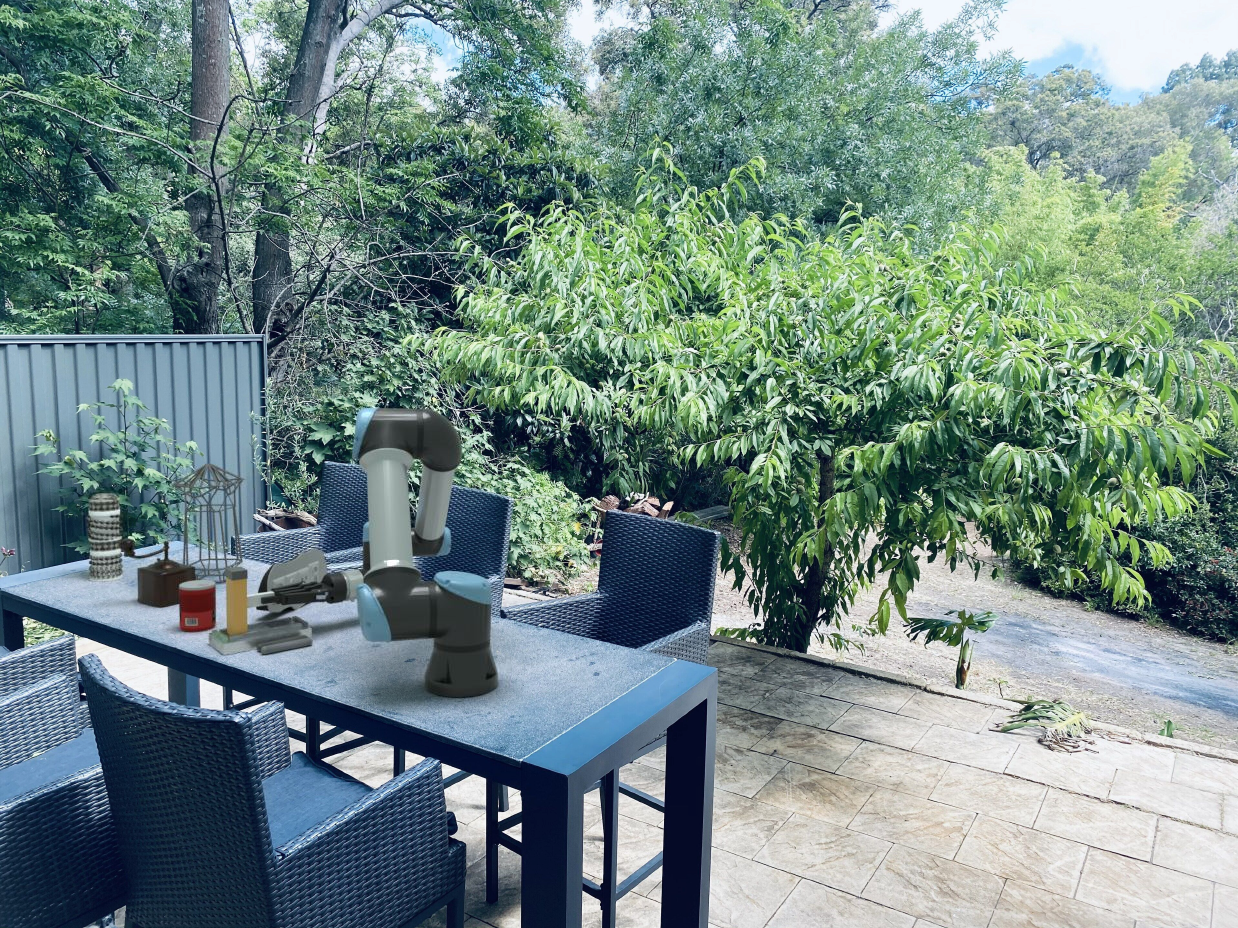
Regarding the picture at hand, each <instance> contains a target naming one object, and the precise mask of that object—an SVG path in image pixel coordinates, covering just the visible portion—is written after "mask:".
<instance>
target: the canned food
mask: <svg viewBox="0 0 1238 928" xmlns="http://www.w3.org/2000/svg"><path fill="white" fill-rule="evenodd" d="M216 586H217V584H216V583H215V582H214V580H208V579H200V580H195V581H188V582H184V583H182V584H180V585H179V604H178V605H179V606H178V610H179V612H178V613H179V616H178V617H179V629H180V630H181V631H183V632H186V633H198V632H205V631H209V630H211V629H213V628H215V627H216V625H217V590H216V588H217V587H216Z"/></svg>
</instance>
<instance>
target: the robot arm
mask: <svg viewBox="0 0 1238 928" xmlns="http://www.w3.org/2000/svg"><path fill="white" fill-rule="evenodd" d="M354 427H355V429H354V437H353V443H352V452H351V453H352V454H351V455H352V459H354V460H356V461H359V462H358V463H359V467H360V468H361V469H362V471H363V472H365V473H366V479H367V481H366V482H367V483H366V484H367V509H368V511H367V512H368V521H366V522H365V523H364V524H363V528H362V529H363V532H362V568H358V569H351V570H350V569H349V570H344V571H341V572H339V571H338V572H332V573H331V572H330V573H327V574H326V575H324V577H323V579H322V581H321V582H320V583H317V581H313V582H310V583H306V584H305V581H301V582H298V583H295V584H290V585H286V586H281V587H277V588H272V589H271V592H264V593H258V592H257V593H252V594H247V609H251V608H256V607H258V606H264V605H270V604H273V605H274V604H275V602H276V604H281V605H292V604H302V603H305V604H311V603H325V602H326V603H327V604H329V605H333V604H338V603H343V602H349V601H350V602H351V603H354V602H355V600H356V604H357V605H356V607H357V609H356V610H357V616H358V621H359V626H360V631H361V634H362V636H363V638H364V639H365V640H366V641H368V642H370V643H388V644H389V643H392V642H400V641H402V642H404V641H413V640H427V639H433V649H432V653H431V656H430V659H429V661H428V663H427V667H426V669H425V672H424V678H423V679H424V688H425V689H426V690H427V691H428V692H430V693H432V694H434V695H438V696H442V697H450V698H468V697H473V696H480V695H483V694H486V693H489V692H491V691H493V690H494V689H495V688H496V687H497V686H498V684H499V672H498V668H497V666H496V661H495V659H494V656H493V652H492V648H491V636H492V635H491V633H492V631H491V629H492V625H491V624H492V604H493V599H492V597H493V596H492V585H491V583H490V581H489V580H488V579H486V578H485V577H483V576H481V575H477V574H474V573H470V572H464V571H456V570H455V571H454V570H453V571H452V570H447V571H439V572H437V573H435V575H434V577H433V580H429V581H428V580H427V581H426V580H423V577H422V572H421V570H420V569H418V568H417V567H416V566H414V557H416V558H417V557H418V558H419V557H440V556H447V555H448V554H449V553H450V551H451V548H452V547H451V546H452V535H451V530H450V529H449V527H447V526H446V522H447V518H448V513H449V512H448V511H449V505H450V499H451V495H452V488H453V481H454V477H455V470H457V469H458V468H459V467H460V465H461V462H462V455H463V446H462V441H461V438H460V434H459V433H458V431H457V429H456V428H455V427H454V425H453V424H452V422H451V421H450V420H449V419H448V418H447V417H446V416H444V415H443V414H441V413H440V412H437V411H436V410H433V409H429V408H382V407H380V406H376V407H364V408H361V409H360V410H358V412H357V415H356V420H355V426H354ZM415 460H419V461H420V463H421V465H422V470H421V471H422V472H421V478H420V487H419V493H418V502H417V509H416V517H415V523H414V527H412V525H411V513H410V512H411V510H410V507H411V506H410V497H409V496H410V494H409V480H408V479H409V478H408V471H409V470H410V469H411V468H412V467H413V465H414V461H415Z"/></svg>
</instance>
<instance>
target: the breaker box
mask: <svg viewBox="0 0 1238 928" xmlns="http://www.w3.org/2000/svg"><path fill="white" fill-rule="evenodd" d="M312 632H313V630H312V627H311V626H309V622H308V621H306V620H304V619H302V618H301V617H299V616H298V615H294V616H293V615H292V616H287V617H282V618H276V619H275V618H274V619H271V620H265V621H257V622H253V623H247V632H246V633H241V634H235V635H229V634H228V633H227V627H224V628H219V629H218V630H217V629H213V630H211V632H209V633H208V644H209V645H210V646H211V647H212V648H214V649H215V650H216V651H218V652H219V653H221V654H222V656H228V655H227V654H229V655H233V654H237V653H238V652H239V653H244V652H248V650H249V651H252V650H253V651H254V650H257V645H258V644H260V643H265V642H271V641H276V640H281V639H286V638H291V637H297V636H302V635H306V636H308V638H311V639H313V638H312V637H313V635H312V634H313V633H312ZM243 651H244V652H243ZM239 653H238V654H239Z"/></svg>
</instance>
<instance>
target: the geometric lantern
mask: <svg viewBox="0 0 1238 928" xmlns="http://www.w3.org/2000/svg"><path fill="white" fill-rule="evenodd" d="M208 470H209V472H210V475H211V477H212V479H211V478H205V477H206V474H207V471H208ZM223 473H225V474H227V475H230V477H231V476H232V477H234V478H228V476H226V475H224V474H223ZM189 477H190V478H189ZM185 480H186V481H185ZM198 480H200V481H201V482H200V483H199V486H194V485H195V484H196V483H197V482H198ZM233 481H234V482H233ZM243 481H245V478H243V477H240V476H238V475H237V474H234V473H232V472H230V471H227V470H225V469H224V468H222V467H219V466H218V465H215V464H213V463H205V464H204V465H201V466H200V467H199V468H197V469H196V470H194V471H192V472H191V473H189V474H187V475H186V476H184V477H182V478H181V479H179V480H177V481H176V482H174V483H172V484H171V486H172V487H174V488H175V489H176V490H179V491H180V492H181V493H183V494H184V523H183V549H182V550H183V556H182V564H185V565H189V566H194V565H196V564H197V563H201V566H202V567H203V568H197V567H195V571H199V572H197V573H195V578H196V580H202V579H203V578H205V577H218V579H219V581H218V580H217V581H216V580H215V581H214V580H213V581H214V582H215V584H216V583H219V584H221V583H226V579H225V577H226V575H225V568H232V567H239V565H241V563H243V553H242V546H241V541H240V533H239V526H238V519H237V512H236V507H237V505H236V504H237V503H236V502H237V500H236V491H237V489H238V488H239V487H240V486H241V485H242V483H243ZM183 482H184V483H183ZM210 482H214V484H215V485H214V484H212V483H210ZM204 483H205V484H207V485H208V486H203V484H204ZM221 483H222V484H221ZM220 487H222V488H220ZM231 487H232V488H233V487H234V489H232V491H231ZM182 488H183V489H182ZM186 488H188V489H189V491H186ZM193 489H195V490H196V489H198V492H199V495H195V494H194V492H193ZM204 489H208V490H206V491H205V492H203V493H202V492H201V490H204ZM214 490H215V491H214ZM212 491H214V492H213V494H212V496H210V498H209V500H207V499H206V497H205V496H206V495H207V494H209V493H210V492H212ZM218 491H222V492H223V491H224V492H225V493H226V494H225V495H226V496H225V498H224V500H223V502H222V504H215V503H214V504H212V503H211V502H212V500H213V498H214V497H215V496H216V493H217V492H218ZM228 491H229V492H228ZM231 495H233V501H232V498H231V497H230V496H231ZM187 496H188V497H190V499H189V502H188V504H187ZM198 498H202V499H203V501H204V502H205V503H206V504H202V503H201V501H200V500H199V499H198ZM227 498H229V501H230V503H231V504H224V503H225V502H226V500H227ZM193 499H195V500H196V501H197V502H198V503H199V504H198V505H195V506H193V507H189V506H190V504H191V502H192V500H193ZM214 506H215V507H216V506H217V507H218V506H220V507H219V509H218V510H215V508H213V507H214ZM223 506H224V507H225V506H226V507H227V506H228V507H227V508H224V509H222V508H223ZM229 506H230V507H229ZM198 507H199V510H192V509H195V508H198ZM203 507H206V510H202V509H203ZM209 508H210V510H209ZM230 509H232V513H233V514H232V515H233V528H234V539H235V540H234V541H235V553H236V555H235V556H236V558H227V552H226V544H225V543H226V542H225V536H224V535H225V534H224V525H223V519H222V518H223V516H222V512H224V511H227V510H230ZM188 512H189V513H193V512H194V513H199V553H198V554H199V559H198V560H196V561H193V562H191V563H189V544H188V543H189V541H188V540H189V537H188V535H189V534H188V533H189V532H188ZM203 513H206V528H207V534H206V535H207V554H208V555H207V557H208V558H202V541H203V539H202V538H203V537H202V534H203V533H202V531H203V529H202V528H203V525H202V523H203V519H202V517H203V515H202V514H203ZM209 513H212V523H213V541H214V543H213V544H214V554H215V558H211V542H210V541H211V540H210V539H211V537H210V536H211V535H210V519H209V518H210V517H209V515H210V514H209ZM215 513H218V514H219V522H220V531H221V540H222V547H223V548H222V549H223V556H224V557H223V558H219V557H218V546H217V532H216V518H215ZM204 561H208V563H207V568H206V566H205V564H204ZM211 561H215V568H210V566H211V565H210V564H211V563H210V562H211ZM219 561H224V565H225V567H221V568H219ZM228 561H234V563H233V564H230V565H229V566H228ZM220 571H223V573H222V574H221V572H220ZM203 572H204V574H202V573H203ZM210 572H217V574H215V573H214V574H210Z"/></svg>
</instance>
